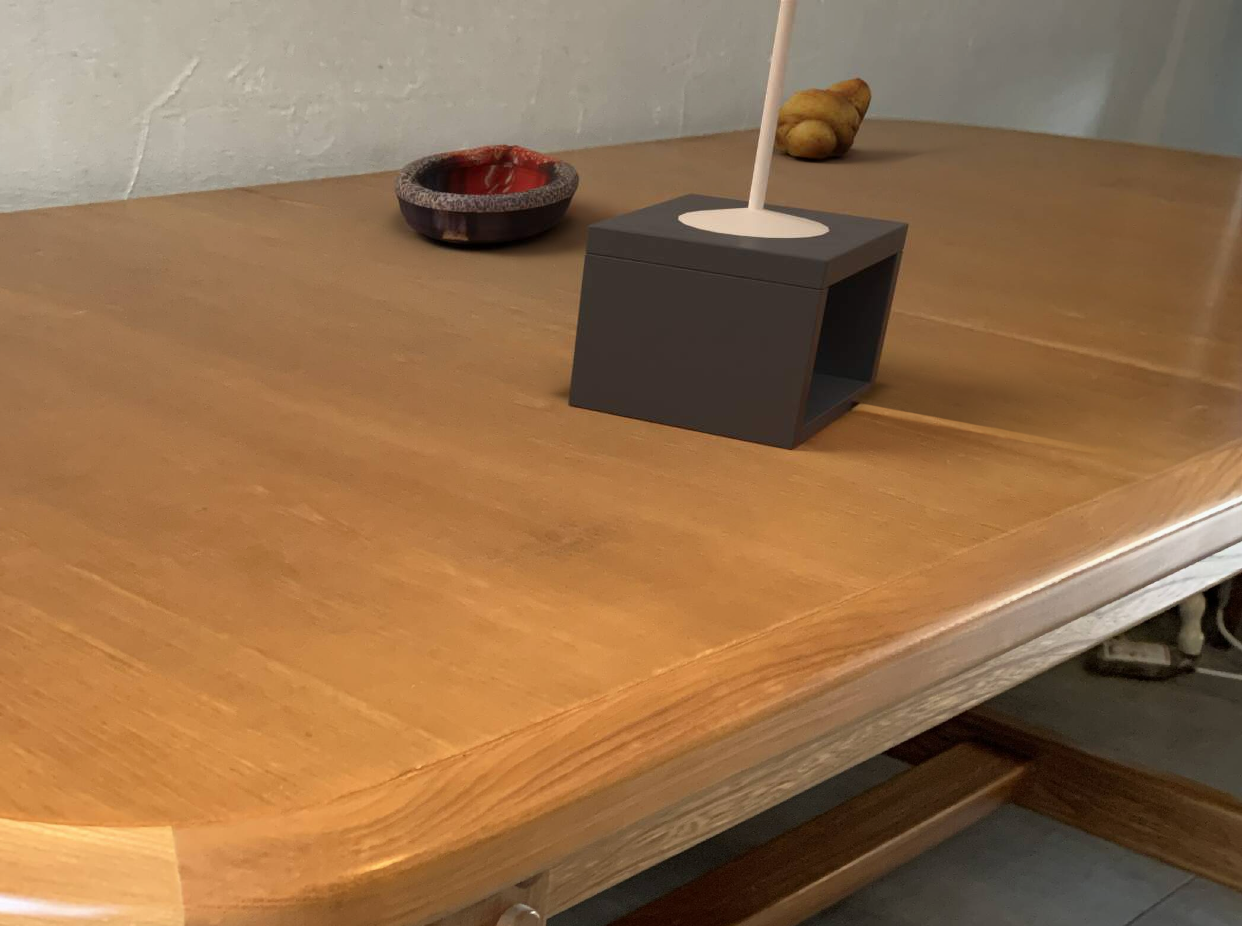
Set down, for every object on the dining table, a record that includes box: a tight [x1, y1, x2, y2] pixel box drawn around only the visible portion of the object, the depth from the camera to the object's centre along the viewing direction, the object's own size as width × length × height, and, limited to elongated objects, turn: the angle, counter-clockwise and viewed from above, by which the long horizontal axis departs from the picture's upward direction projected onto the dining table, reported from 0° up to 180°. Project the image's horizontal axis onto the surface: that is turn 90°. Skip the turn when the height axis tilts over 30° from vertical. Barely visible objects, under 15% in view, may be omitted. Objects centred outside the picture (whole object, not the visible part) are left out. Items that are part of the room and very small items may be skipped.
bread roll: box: [774, 76, 872, 160], centre depth 191 cm, size 13×10×8 cm
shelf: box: [568, 193, 910, 450], centre depth 100 cm, size 14×15×10 cm
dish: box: [393, 144, 580, 245], centre depth 148 cm, size 16×31×5 cm, turn 164°
